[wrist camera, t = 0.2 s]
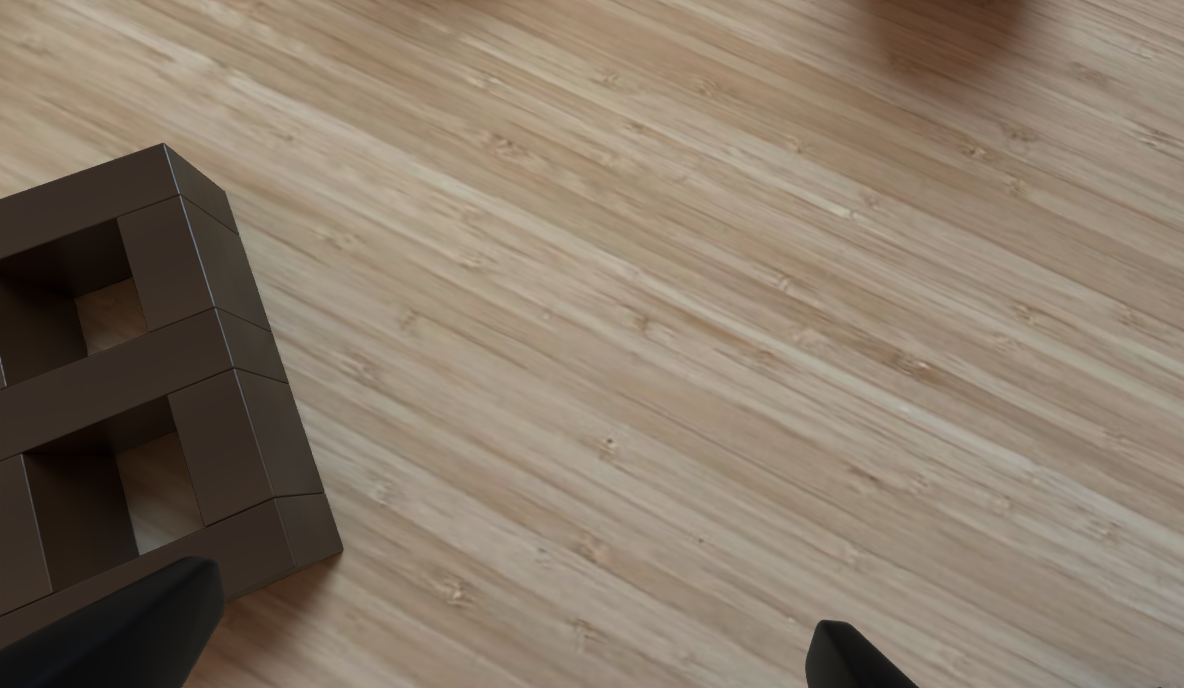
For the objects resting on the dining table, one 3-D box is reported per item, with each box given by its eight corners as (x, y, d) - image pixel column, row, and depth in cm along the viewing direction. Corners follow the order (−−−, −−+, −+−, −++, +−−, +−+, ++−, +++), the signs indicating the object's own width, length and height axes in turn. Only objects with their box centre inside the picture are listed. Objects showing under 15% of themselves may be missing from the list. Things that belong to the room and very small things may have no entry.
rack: (345, 550, 20) (297, 566, 16) (95, 663, 19) (-12, 706, 15) (225, 190, 23) (163, 141, 19) (3, 270, 22) (-103, 233, 18)
